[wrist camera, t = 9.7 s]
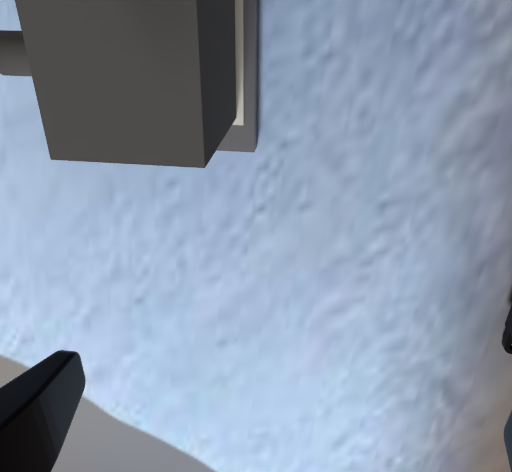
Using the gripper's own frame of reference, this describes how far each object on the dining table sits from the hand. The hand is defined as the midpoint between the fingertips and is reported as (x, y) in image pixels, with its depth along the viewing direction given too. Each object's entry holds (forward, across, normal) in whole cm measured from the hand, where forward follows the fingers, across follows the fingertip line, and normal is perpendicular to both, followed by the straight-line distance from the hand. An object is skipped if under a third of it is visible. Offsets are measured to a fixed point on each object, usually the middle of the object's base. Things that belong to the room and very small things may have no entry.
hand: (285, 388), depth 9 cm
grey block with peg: (+12, +7, -5) cm, 15 cm away
